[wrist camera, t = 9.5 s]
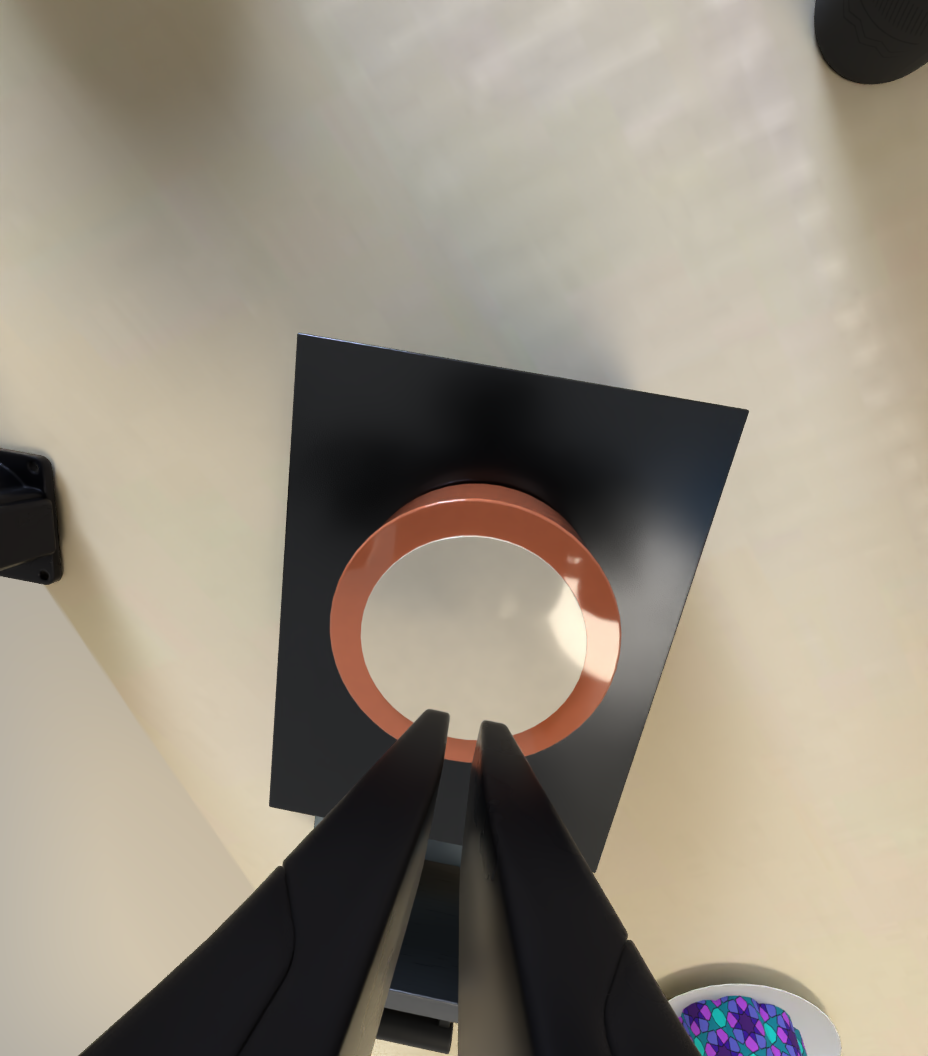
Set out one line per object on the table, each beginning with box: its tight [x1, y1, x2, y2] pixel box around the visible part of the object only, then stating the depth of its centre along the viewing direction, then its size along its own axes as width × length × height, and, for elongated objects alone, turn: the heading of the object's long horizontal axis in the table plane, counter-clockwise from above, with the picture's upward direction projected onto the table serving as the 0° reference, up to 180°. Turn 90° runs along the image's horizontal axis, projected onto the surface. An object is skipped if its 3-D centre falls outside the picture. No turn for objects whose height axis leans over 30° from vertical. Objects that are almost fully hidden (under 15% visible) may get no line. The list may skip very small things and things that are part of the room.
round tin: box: [330, 484, 622, 763], centre depth 11 cm, size 7×7×3 cm
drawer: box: [314, 816, 462, 1054], centre depth 20 cm, size 20×10×6 cm, turn 171°
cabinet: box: [269, 333, 749, 873], centre depth 16 cm, size 16×12×8 cm
